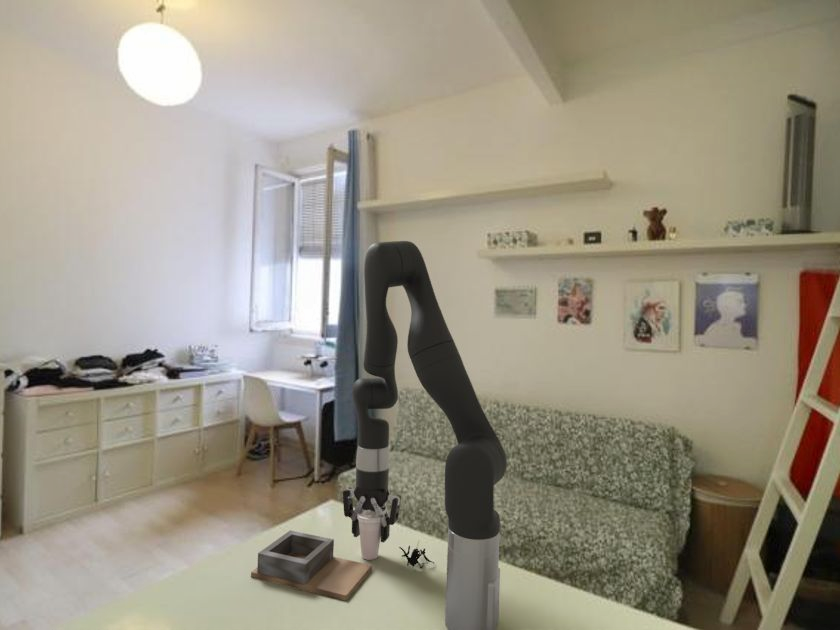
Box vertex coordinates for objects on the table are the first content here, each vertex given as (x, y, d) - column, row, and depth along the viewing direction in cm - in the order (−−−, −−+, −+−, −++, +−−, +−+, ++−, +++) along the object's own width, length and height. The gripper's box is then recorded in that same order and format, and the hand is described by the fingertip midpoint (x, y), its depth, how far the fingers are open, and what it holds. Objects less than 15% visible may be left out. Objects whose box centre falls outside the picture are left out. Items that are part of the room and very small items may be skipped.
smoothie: (352, 551, 108) (354, 491, 108) (378, 546, 110) (380, 487, 111) (360, 565, 102) (362, 501, 102) (387, 559, 105) (389, 497, 105)
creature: (404, 558, 108) (392, 567, 101) (407, 533, 109) (395, 540, 102) (436, 565, 106) (427, 574, 98) (439, 539, 107) (429, 547, 100)
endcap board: (371, 569, 100) (372, 546, 100) (346, 600, 89) (346, 574, 89) (285, 550, 107) (285, 528, 107) (250, 576, 96) (251, 552, 96)
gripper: (407, 464, 108) (405, 536, 107) (352, 456, 112) (349, 526, 112) (395, 474, 101) (393, 551, 100) (336, 465, 105) (334, 539, 105)
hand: (370, 538), depth 106 cm, fingers closed on smoothie, 6 cm apart
